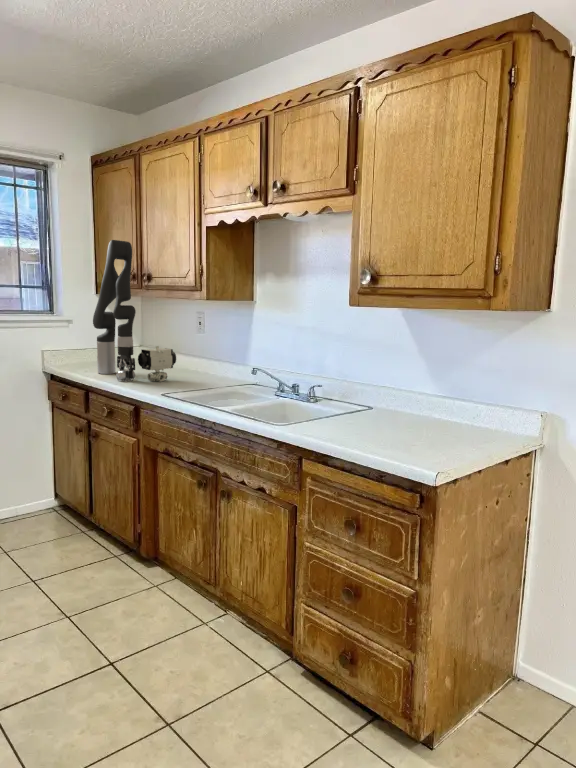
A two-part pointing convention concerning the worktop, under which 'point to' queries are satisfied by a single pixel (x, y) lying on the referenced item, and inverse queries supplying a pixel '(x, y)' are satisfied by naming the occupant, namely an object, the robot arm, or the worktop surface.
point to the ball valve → (157, 362)
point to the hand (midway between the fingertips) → (126, 377)
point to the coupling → (124, 375)
